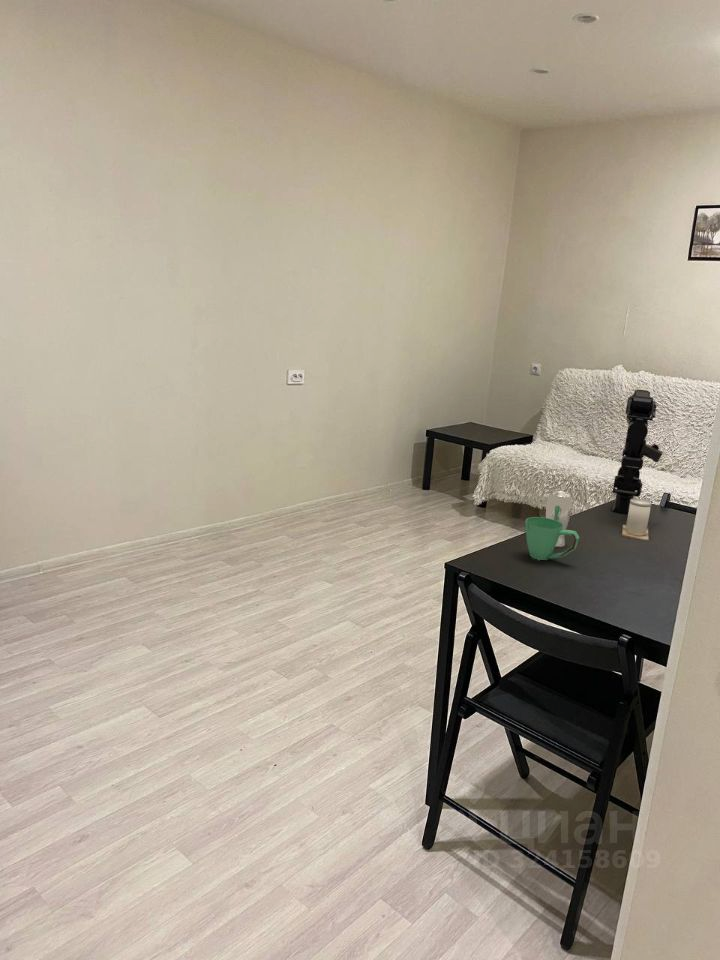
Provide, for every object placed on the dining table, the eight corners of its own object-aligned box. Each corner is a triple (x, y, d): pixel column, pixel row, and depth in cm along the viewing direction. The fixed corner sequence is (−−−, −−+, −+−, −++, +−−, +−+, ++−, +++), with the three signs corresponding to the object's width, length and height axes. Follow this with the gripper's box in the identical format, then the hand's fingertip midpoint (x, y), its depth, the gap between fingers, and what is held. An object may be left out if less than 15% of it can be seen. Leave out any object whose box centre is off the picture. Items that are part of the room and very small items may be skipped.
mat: (622, 525, 233) (623, 523, 233) (647, 530, 231) (648, 527, 230) (622, 536, 222) (622, 533, 222) (648, 540, 220) (648, 538, 219)
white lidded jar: (622, 528, 227) (627, 497, 225) (642, 530, 227) (647, 499, 225) (628, 534, 221) (634, 503, 219) (648, 536, 221) (654, 505, 219)
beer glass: (542, 538, 215) (549, 489, 211) (566, 542, 213) (574, 492, 209) (540, 545, 208) (547, 494, 205) (565, 549, 206) (572, 498, 203)
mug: (515, 557, 196) (520, 522, 194) (527, 548, 205) (532, 514, 202) (569, 571, 189) (575, 535, 187) (579, 561, 197) (585, 526, 195)
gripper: (664, 444, 219) (655, 493, 223) (662, 434, 237) (654, 480, 240) (625, 439, 223) (617, 488, 227) (626, 430, 240) (618, 475, 244)
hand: (628, 483), depth 234 cm, fingers open, 9 cm apart
